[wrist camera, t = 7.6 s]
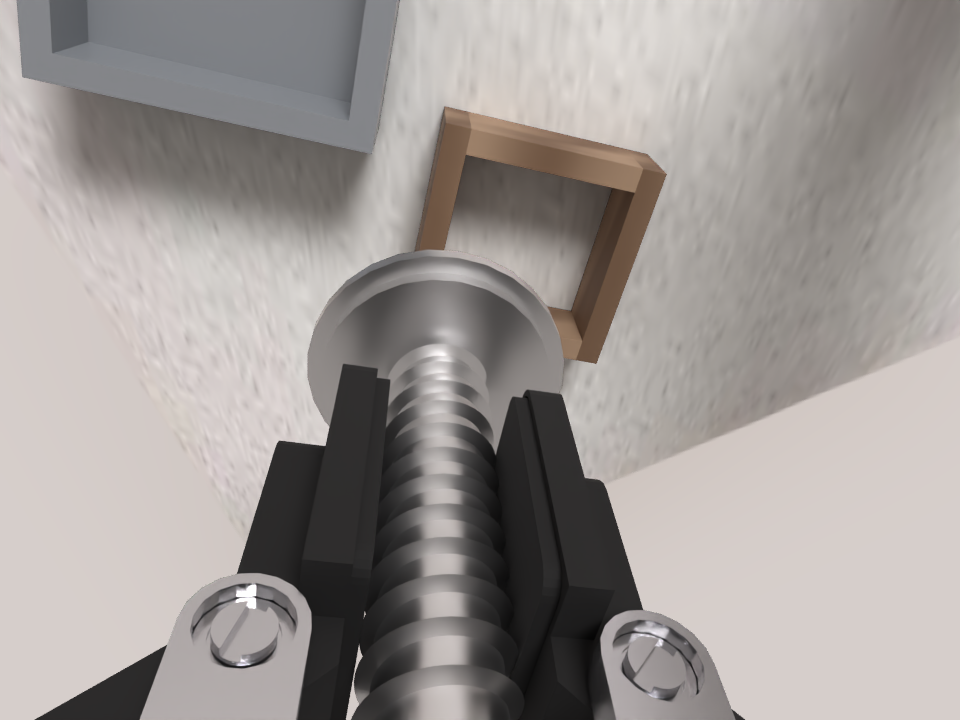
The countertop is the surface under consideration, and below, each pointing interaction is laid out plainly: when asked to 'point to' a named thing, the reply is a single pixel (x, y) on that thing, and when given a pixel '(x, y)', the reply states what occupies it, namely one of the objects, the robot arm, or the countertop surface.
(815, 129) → the countertop surface
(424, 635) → the screw
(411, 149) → the countertop surface
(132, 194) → the countertop surface
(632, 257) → the frame
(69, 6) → the bin
